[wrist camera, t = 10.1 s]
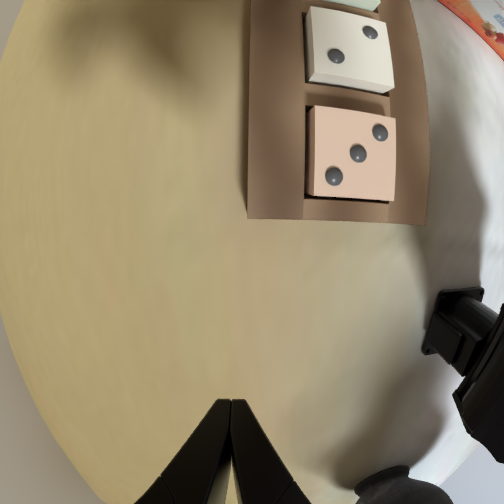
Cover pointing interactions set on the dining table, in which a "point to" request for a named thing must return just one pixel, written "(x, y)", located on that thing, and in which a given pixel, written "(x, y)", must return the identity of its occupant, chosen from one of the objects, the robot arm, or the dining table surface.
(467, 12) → the cracker box
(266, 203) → the frame board
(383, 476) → the pitcher
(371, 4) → the tile one
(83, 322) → the dining table surface
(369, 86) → the tile two
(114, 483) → the dining table surface
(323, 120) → the tile three
